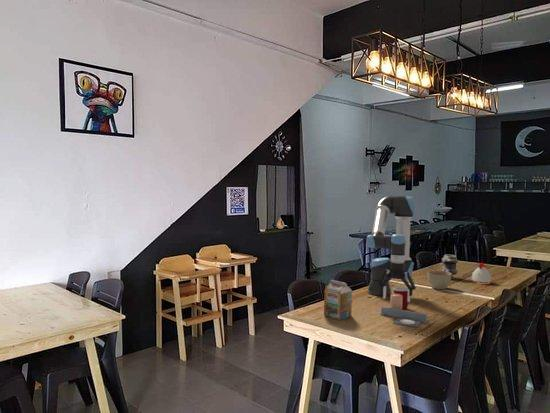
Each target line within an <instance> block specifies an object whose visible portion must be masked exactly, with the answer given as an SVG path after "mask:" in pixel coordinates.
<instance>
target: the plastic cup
mask: <svg viewBox="0 0 550 413" xmlns="http://www.w3.org/2000/svg"><path fill="white" fill-rule="evenodd" d="M392 290H393V292H394V293H393V294H400V295H402V296H403V301H402V310H405V311H406V310H407V309H408V306H409V303H410V302H407V300H408V290H409V289H408V287H407V286H397V287H396V286H394V287H393V288H392Z"/></svg>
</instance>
